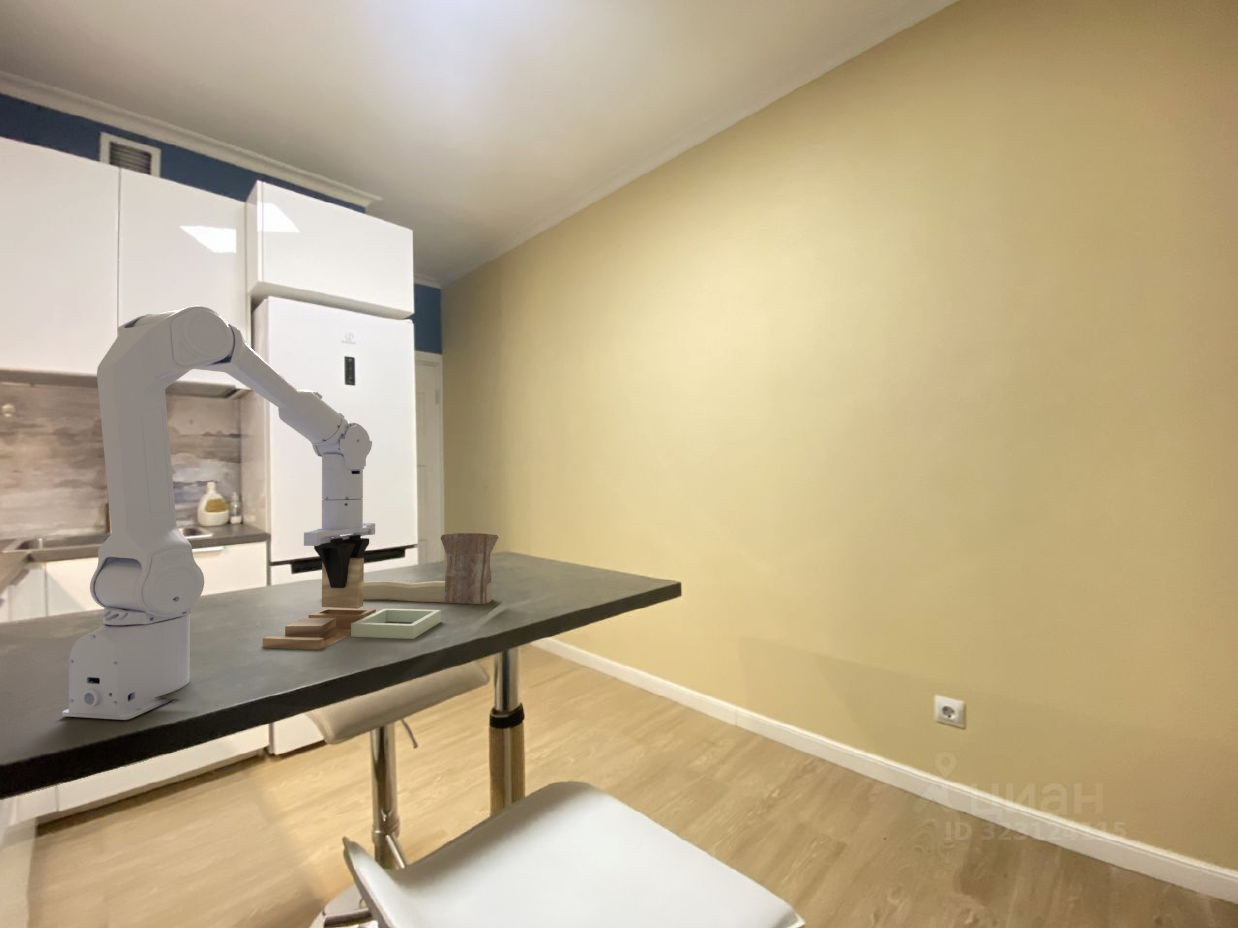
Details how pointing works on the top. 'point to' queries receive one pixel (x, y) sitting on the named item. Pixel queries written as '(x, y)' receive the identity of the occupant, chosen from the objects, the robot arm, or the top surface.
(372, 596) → the hand axe
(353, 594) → the upright wooden block
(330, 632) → the offcut low
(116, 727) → the top surface
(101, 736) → the top surface
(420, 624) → the tray
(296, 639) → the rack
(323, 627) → the offcut top
